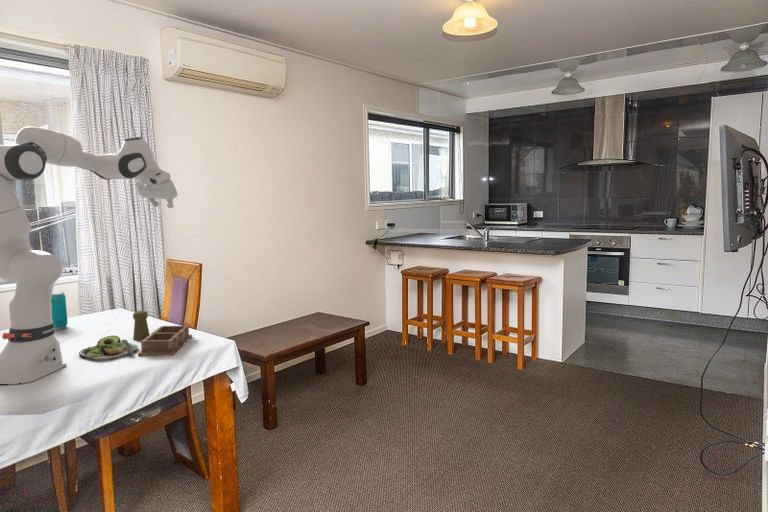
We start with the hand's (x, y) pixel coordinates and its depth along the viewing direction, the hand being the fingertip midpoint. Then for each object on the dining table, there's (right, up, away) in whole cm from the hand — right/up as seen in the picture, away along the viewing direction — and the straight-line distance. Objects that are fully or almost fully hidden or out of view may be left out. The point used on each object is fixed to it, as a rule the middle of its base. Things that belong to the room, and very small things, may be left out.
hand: (163, 206), depth 206 cm
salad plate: (-7, -56, -27) cm, 63 cm away
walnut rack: (+10, -54, -20) cm, 59 cm away
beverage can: (-45, -51, +2) cm, 68 cm away
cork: (-4, -53, -11) cm, 54 cm away
